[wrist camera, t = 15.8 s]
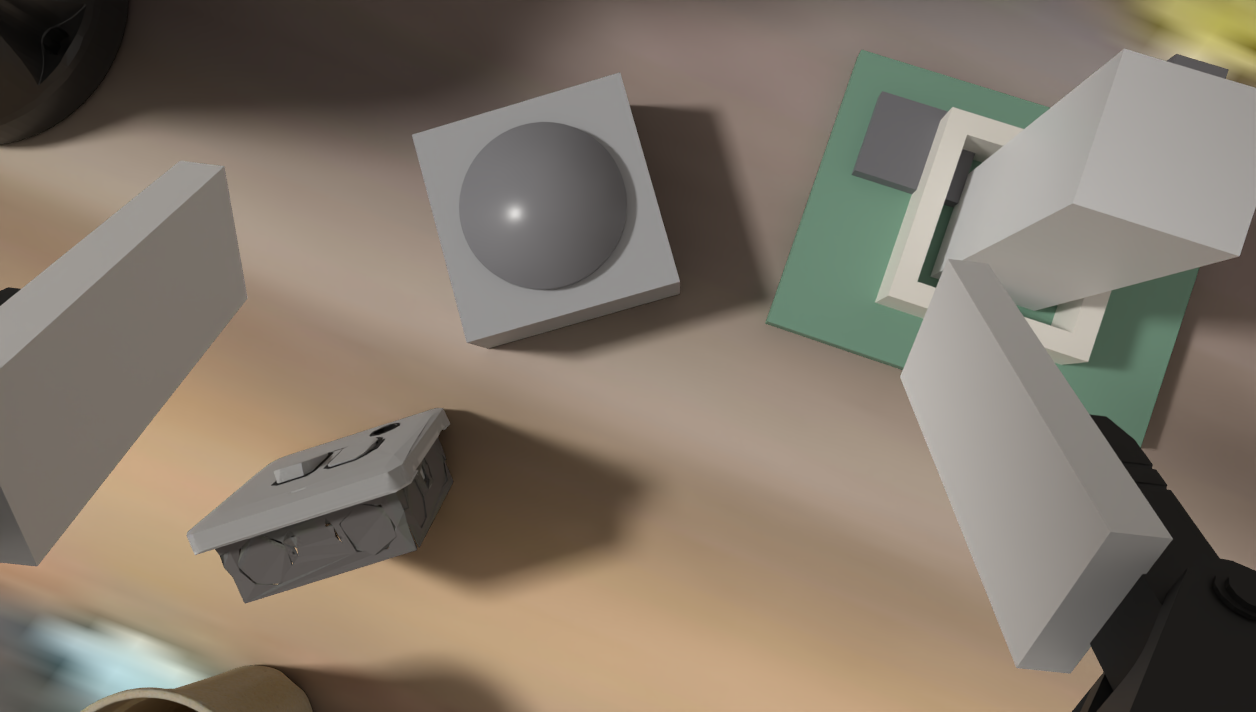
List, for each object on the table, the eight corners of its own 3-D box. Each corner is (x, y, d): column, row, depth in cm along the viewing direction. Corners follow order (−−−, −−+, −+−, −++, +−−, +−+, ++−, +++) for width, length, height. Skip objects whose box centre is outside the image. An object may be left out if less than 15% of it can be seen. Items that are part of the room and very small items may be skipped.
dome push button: (437, 160, 42) (409, 131, 37) (626, 104, 41) (619, 68, 37) (487, 348, 41) (464, 341, 36) (680, 293, 40) (680, 280, 36)
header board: (765, 323, 40) (773, 315, 36) (857, 58, 40) (873, 25, 37) (1128, 446, 38) (1173, 451, 35) (1219, 170, 39) (1272, 147, 35)
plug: (930, 276, 38) (1072, 203, 24) (967, 165, 39) (1130, 30, 25) (1034, 311, 38) (1239, 256, 24) (1071, 198, 38) (1296, 79, 24)
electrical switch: (449, 403, 41) (386, 425, 31) (480, 501, 41) (427, 552, 32) (275, 458, 41) (162, 496, 32) (307, 555, 41) (204, 621, 32)
